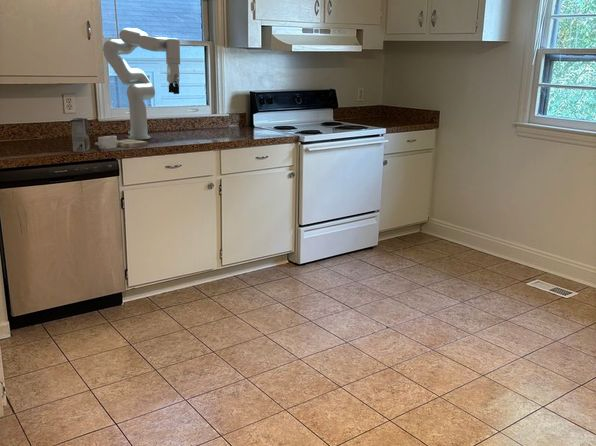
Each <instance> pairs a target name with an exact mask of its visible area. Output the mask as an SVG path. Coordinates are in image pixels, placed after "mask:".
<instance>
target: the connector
mask: <svg viewBox="0 0 596 446" xmlns="http://www.w3.org/2000/svg"><path fill="white" fill-rule="evenodd" d="M117 138H118V137H117V135H105V136H98V137H97V141H98V142H97V141H96V142H94V145H95V146H98V149H99V150H110V149H116V148H118V146H117V140H118V139H117Z"/></svg>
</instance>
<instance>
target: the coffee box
mask: <svg viewBox="0 0 596 446" xmlns="http://www.w3.org/2000/svg"><path fill="white" fill-rule="evenodd" d="M70 127H71V139H72V151H73V152H75V153H77V152H78V153H82V152H83V153H85V152H87V151H88V150H90V149H91V148H90V147H91V146H90V145H91V144H90V135H89V134H90V133H89V123H88V118H84V117H83V118H82V117H76V118H73V119H71V120H70Z"/></svg>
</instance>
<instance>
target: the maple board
mask: <svg viewBox="0 0 596 446" xmlns="http://www.w3.org/2000/svg"><path fill="white" fill-rule="evenodd" d="M146 145H149V143H148V141H144V140H136V139H129V138H126V139H117V147H122V148H128V149H131V148H138V147H147V146H146Z"/></svg>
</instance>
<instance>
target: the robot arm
mask: <svg viewBox="0 0 596 446" xmlns="http://www.w3.org/2000/svg"><path fill="white" fill-rule="evenodd" d="M118 36H119V39H118V38H117V39H115V38H113V39H108V40H106V41H105V42H104V43H103V46H102V53H103V52H104V53H103V56H104V59H105V60H106V62H107V63H108V64H109V66H110V67H111V68H112V69H113V71H114V73H115V74H116V76H117V78H118V79H119V81H121V83H122V84H123V85H125V86H127V89H126V96H127V101H128V106H129V108H128V109H129V124H130V130H129V131H127V133H128V134H129V135H128V136H127V137H128V138H127V139H133V140H139V141H141V140H149V139H151V135H148V134H149V133H148V117H147V116H148V115H147V105H146V104H145V102H144V101H146V100H152V99H153V98H154V97H155V95H156V90H155V87H154V85H153V84H152V82H151V81H150V79H149V77H148V76H147V74H146V73H145V72H144V71H143V70H142V69H140V68H131V67H130V66H129V64H128V63H127V61H126V59H124V58H123V57H122V56H120V55H125V56H126V55H129V54H131V53H133V51H135V50H136V49H137V48H138V47H139V48H141V49H143V50H146V51H150V52H164V53H165V60H166V62H165V63H166V65H167V66H166V82H167V83H168V93H173V94H174V95H179V94H180V65H181V47H180V46H181V41H180V39H179V38H171V37H159V36H151V35H150V36H149V35H148V33H147V32H145V31H142V30H141V29H139V28H133V27H132V28H131V27H125V28H122V29H121V30H120V31H119V34H118Z"/></svg>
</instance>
